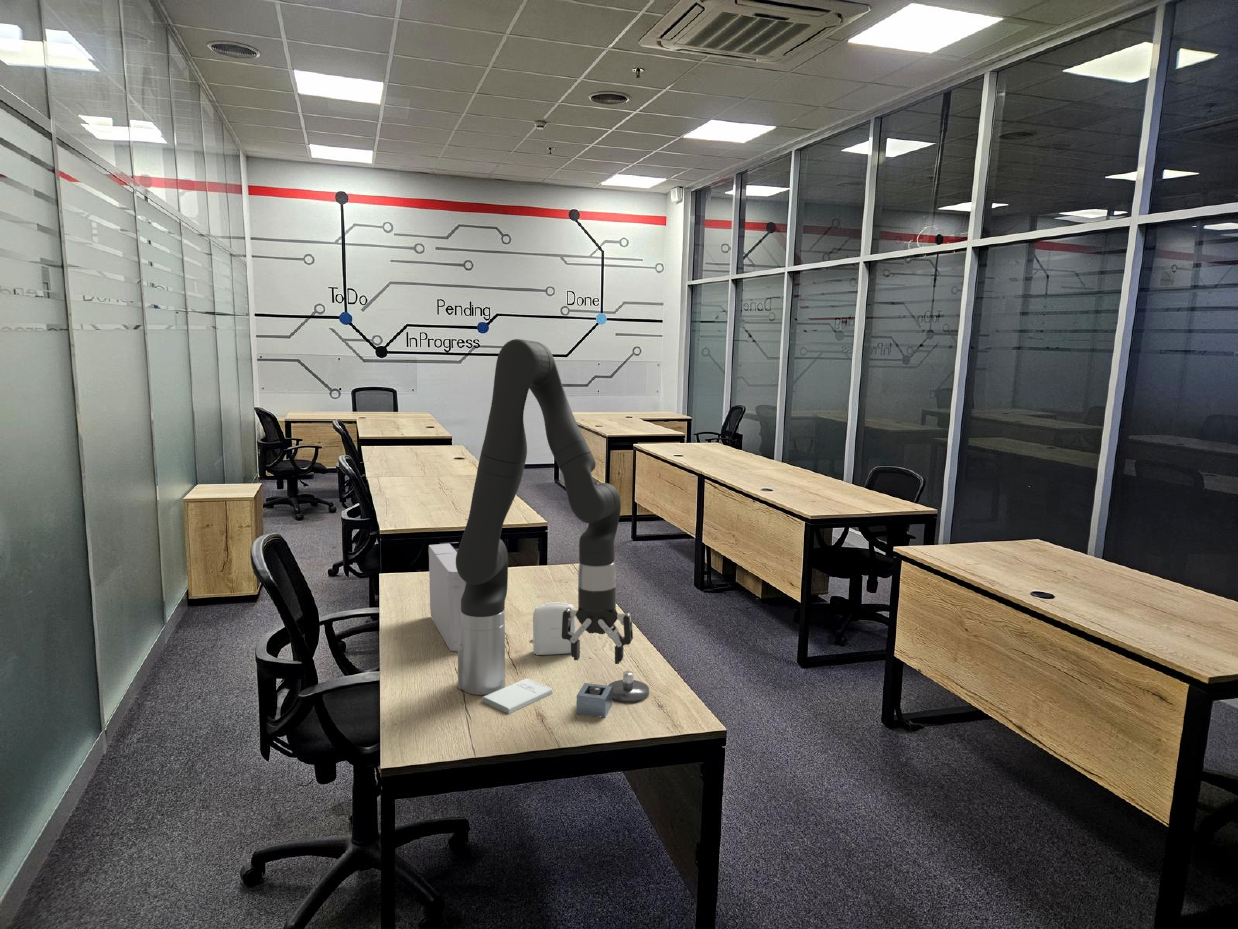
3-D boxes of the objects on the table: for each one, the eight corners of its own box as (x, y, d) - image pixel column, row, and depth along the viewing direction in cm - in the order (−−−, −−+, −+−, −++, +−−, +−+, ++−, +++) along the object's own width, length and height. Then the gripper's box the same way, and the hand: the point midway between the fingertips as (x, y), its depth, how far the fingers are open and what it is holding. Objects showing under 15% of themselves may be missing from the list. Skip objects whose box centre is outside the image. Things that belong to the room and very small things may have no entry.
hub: (602, 699, 160) (602, 679, 159) (612, 681, 169) (612, 662, 168) (644, 705, 158) (644, 684, 157) (652, 686, 167) (652, 667, 166)
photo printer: (533, 656, 182) (533, 607, 180) (532, 649, 186) (532, 601, 184) (576, 654, 183) (576, 605, 181) (574, 647, 187) (574, 599, 186)
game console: (450, 653, 183) (448, 572, 180) (429, 616, 208) (427, 545, 205) (473, 649, 185) (473, 570, 182) (450, 613, 210) (449, 543, 207)
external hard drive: (482, 703, 158) (526, 684, 168) (509, 716, 153) (552, 695, 163) (482, 696, 158) (526, 677, 167) (509, 708, 153) (552, 688, 162)
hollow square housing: (576, 714, 153) (576, 695, 153) (584, 700, 159) (584, 682, 159) (605, 717, 152) (605, 698, 152) (612, 704, 158) (612, 686, 157)
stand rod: (588, 710, 155) (588, 690, 154) (590, 706, 157) (591, 685, 156) (598, 712, 154) (598, 691, 154) (601, 707, 157) (601, 686, 156)
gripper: (557, 586, 150) (558, 665, 152) (628, 591, 147) (627, 671, 149) (567, 576, 157) (568, 651, 159) (635, 580, 154) (635, 656, 156)
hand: (597, 660), depth 154 cm, fingers open, 8 cm apart
